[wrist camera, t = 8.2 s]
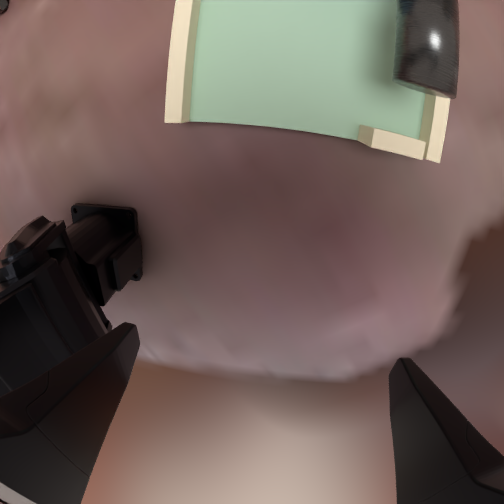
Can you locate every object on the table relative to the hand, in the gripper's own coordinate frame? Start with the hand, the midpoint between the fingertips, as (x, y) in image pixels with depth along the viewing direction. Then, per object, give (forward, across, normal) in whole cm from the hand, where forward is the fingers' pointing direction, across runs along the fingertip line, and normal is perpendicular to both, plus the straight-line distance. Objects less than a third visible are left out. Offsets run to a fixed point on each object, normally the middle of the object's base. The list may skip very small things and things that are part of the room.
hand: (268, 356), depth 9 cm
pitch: (+13, -1, -20) cm, 24 cm away
